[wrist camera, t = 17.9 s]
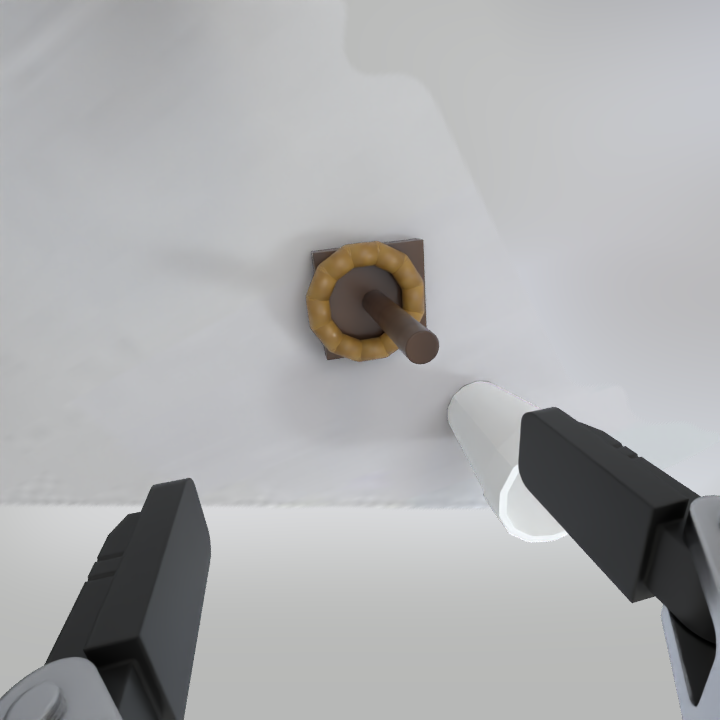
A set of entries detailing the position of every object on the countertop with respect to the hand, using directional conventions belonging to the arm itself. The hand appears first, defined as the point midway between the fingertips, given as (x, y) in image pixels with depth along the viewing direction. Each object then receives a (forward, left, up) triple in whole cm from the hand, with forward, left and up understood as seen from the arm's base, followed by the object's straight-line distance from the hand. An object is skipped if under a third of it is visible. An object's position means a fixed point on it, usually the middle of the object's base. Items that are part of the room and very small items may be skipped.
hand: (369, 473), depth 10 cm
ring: (+5, -2, -23) cm, 24 cm away
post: (+6, -2, -26) cm, 26 cm away
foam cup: (+16, -15, -26) cm, 34 cm away
